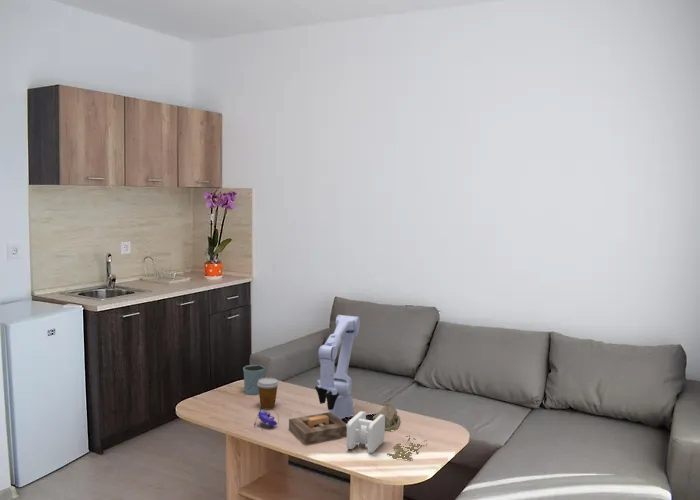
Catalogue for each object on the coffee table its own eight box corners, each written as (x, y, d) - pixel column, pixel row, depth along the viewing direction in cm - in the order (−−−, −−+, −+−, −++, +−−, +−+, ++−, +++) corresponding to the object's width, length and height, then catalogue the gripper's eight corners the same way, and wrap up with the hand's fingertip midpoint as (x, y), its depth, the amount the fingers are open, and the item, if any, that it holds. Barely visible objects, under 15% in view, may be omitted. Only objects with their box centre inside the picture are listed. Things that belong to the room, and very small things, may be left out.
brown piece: (330, 422, 259) (330, 411, 259) (348, 436, 245) (348, 425, 245) (288, 429, 250) (289, 419, 250) (305, 444, 236) (305, 433, 236)
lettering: (408, 434, 250) (408, 432, 250) (432, 439, 245) (432, 437, 245) (383, 458, 228) (383, 455, 227) (409, 464, 223) (409, 461, 223)
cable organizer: (370, 457, 228) (371, 426, 226) (344, 451, 232) (345, 421, 231) (384, 441, 241) (385, 413, 240) (360, 436, 245) (361, 408, 244)
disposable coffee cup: (282, 405, 277) (282, 380, 276) (268, 412, 269) (269, 385, 267) (266, 401, 282) (266, 376, 281) (252, 407, 274) (252, 381, 273)
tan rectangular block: (325, 426, 251) (325, 414, 250) (328, 429, 248) (328, 417, 248) (307, 429, 247) (307, 417, 246) (310, 432, 244) (311, 420, 244)
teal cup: (240, 394, 290) (240, 369, 289) (247, 387, 300) (247, 363, 299) (260, 396, 288) (261, 371, 287) (267, 389, 298) (267, 365, 297)
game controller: (285, 417, 254) (267, 419, 246) (278, 434, 255) (260, 436, 248) (271, 404, 260) (253, 405, 253) (264, 420, 262) (246, 422, 254)
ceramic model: (392, 434, 249) (393, 410, 248) (367, 429, 254) (367, 405, 252) (404, 422, 262) (405, 399, 260) (379, 417, 266) (380, 395, 265)
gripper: (310, 370, 255) (310, 401, 256) (326, 380, 242) (325, 413, 244) (326, 368, 258) (325, 399, 260) (342, 378, 245) (341, 411, 247)
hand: (326, 406), depth 252 cm, fingers open, 7 cm apart
